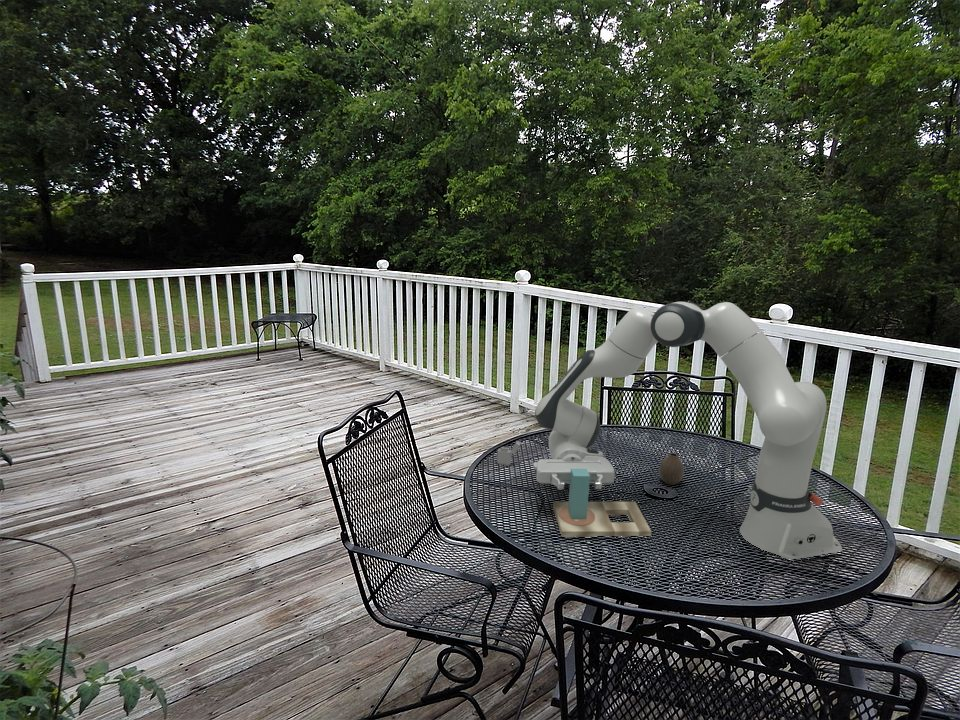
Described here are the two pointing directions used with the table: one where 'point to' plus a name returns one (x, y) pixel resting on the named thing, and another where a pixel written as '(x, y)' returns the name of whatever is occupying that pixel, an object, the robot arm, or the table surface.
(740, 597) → the table surface
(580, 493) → the peg
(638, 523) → the pocket board
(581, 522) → the tan flat disc
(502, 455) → the lighter
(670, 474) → the vase
